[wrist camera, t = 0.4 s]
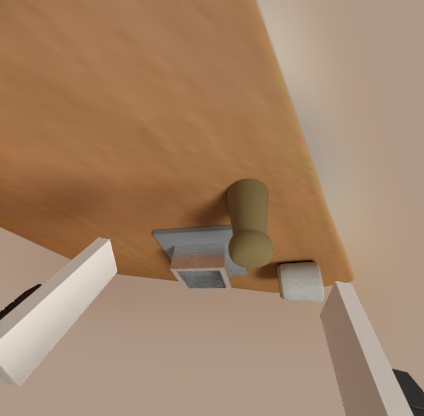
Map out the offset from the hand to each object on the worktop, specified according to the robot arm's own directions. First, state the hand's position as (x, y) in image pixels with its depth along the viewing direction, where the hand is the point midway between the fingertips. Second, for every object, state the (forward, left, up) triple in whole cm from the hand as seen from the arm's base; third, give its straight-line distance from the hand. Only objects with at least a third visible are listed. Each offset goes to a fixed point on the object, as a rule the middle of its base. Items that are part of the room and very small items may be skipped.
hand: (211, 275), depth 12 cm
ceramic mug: (+34, +11, -17) cm, 40 cm away
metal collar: (+26, -8, -17) cm, 32 cm away
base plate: (+26, -8, -17) cm, 32 cm away
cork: (+10, +2, -17) cm, 20 cm away
